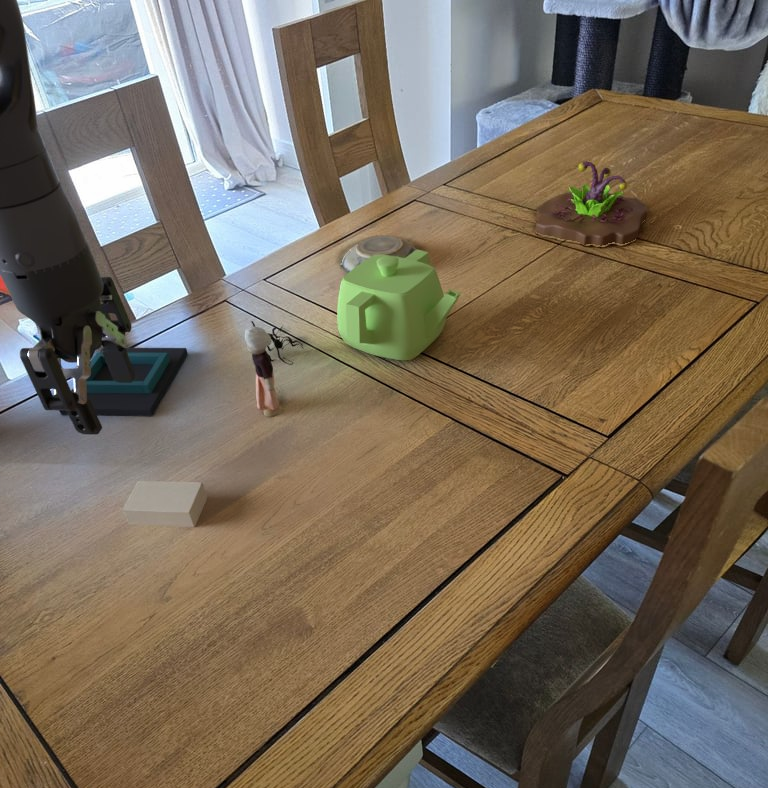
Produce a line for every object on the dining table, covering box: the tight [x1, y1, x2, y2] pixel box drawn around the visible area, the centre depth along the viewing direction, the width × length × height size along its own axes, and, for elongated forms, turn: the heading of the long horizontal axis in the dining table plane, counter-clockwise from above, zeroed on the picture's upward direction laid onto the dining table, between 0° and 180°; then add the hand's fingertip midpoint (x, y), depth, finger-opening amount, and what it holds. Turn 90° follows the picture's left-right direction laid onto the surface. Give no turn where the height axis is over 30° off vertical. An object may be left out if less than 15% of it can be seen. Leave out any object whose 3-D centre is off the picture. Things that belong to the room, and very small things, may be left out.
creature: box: [250, 320, 304, 366], centre depth 106 cm, size 8×5×8 cm
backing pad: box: [58, 347, 189, 417], centre depth 104 cm, size 14×16×3 cm
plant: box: [534, 160, 649, 246], centre depth 128 cm, size 20×20×11 cm
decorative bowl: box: [340, 234, 417, 273], centre depth 125 cm, size 15×4×15 cm
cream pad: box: [122, 480, 208, 528], centre depth 82 cm, size 8×5×4 cm, turn 83°
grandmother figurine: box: [244, 325, 284, 418], centre depth 93 cm, size 8×4×13 cm, turn 27°
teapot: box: [336, 249, 461, 361], centre depth 102 cm, size 18×20×13 cm
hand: (109, 405), depth 69 cm, fingers open, 8 cm apart
